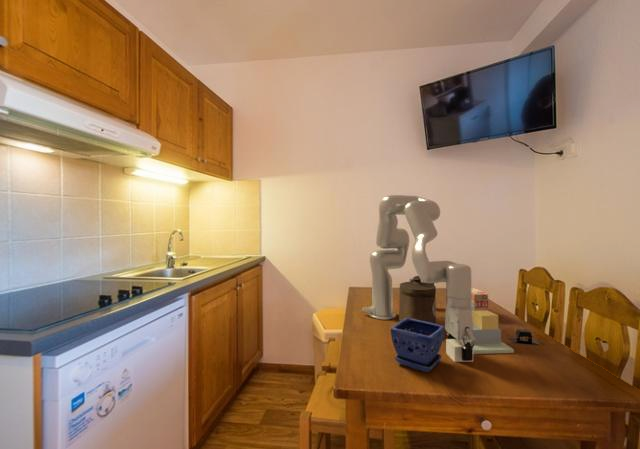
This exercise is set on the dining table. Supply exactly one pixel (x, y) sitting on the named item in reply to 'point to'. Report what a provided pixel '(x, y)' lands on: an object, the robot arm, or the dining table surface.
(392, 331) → the flower pot
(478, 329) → the slate-blue long brick
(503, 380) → the dining table surface
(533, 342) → the black piece
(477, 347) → the green plate
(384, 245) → the robot arm
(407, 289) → the wooden container
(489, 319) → the mustard brick
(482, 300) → the stack of blocks
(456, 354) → the cream brick
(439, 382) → the dining table surface
